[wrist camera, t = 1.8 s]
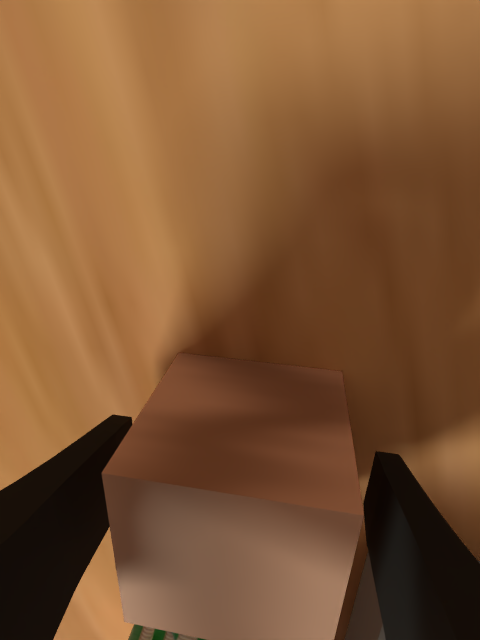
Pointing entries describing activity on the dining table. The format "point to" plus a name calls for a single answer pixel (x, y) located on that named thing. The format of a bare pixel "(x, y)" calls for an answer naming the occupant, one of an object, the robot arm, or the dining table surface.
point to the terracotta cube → (236, 502)
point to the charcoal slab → (366, 610)
